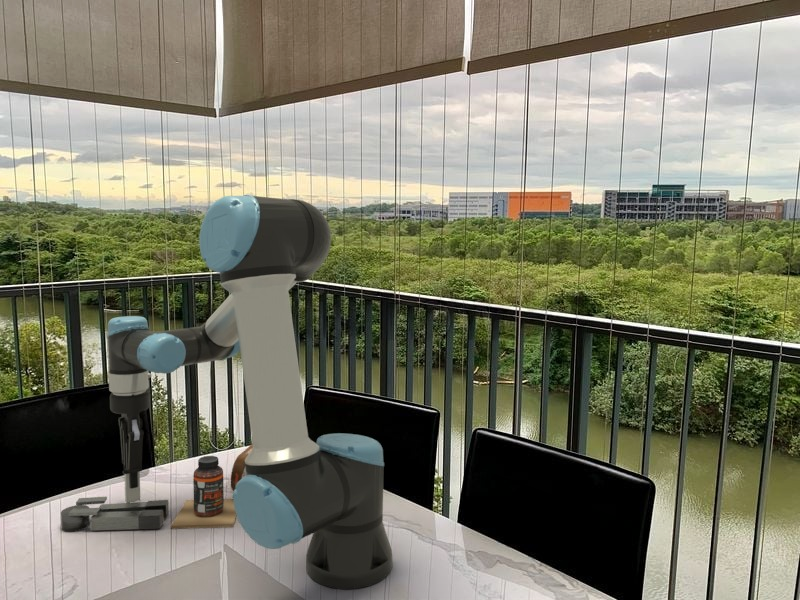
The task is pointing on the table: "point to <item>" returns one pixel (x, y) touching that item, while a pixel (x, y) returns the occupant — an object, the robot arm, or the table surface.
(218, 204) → the robot arm
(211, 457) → the supplement bottle
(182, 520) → the cork mat
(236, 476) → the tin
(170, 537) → the table surface
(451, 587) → the table surface
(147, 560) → the table surface
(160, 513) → the tongs base
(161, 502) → the tong jaw
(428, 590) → the table surface
